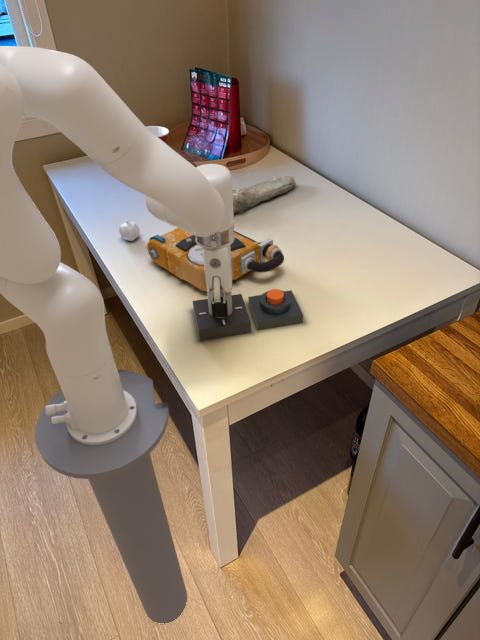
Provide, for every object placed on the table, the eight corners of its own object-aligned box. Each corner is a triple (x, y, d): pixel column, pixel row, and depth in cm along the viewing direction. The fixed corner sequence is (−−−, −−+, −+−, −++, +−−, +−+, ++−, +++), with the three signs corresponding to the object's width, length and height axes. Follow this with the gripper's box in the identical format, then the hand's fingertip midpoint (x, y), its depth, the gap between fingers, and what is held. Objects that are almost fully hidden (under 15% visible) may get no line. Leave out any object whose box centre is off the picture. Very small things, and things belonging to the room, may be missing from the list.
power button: (269, 306, 103) (269, 300, 102) (265, 296, 106) (265, 290, 105) (285, 304, 104) (285, 297, 102) (281, 294, 106) (281, 288, 105)
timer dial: (232, 317, 102) (231, 297, 98) (208, 318, 102) (206, 298, 98) (232, 303, 105) (231, 283, 102) (209, 304, 105) (207, 284, 102)
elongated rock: (303, 193, 155) (282, 185, 161) (304, 177, 152) (282, 169, 158) (214, 224, 137) (195, 213, 144) (213, 206, 134) (193, 196, 141)
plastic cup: (174, 167, 171) (169, 133, 163) (143, 171, 170) (137, 136, 162) (171, 156, 179) (167, 123, 171) (142, 159, 178) (136, 126, 170)
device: (208, 203, 131) (292, 241, 114) (211, 230, 136) (291, 270, 119) (140, 234, 119) (222, 282, 102) (145, 262, 125) (224, 312, 108)
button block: (257, 329, 103) (257, 315, 100) (248, 304, 110) (248, 290, 107) (302, 322, 104) (303, 308, 102) (291, 297, 111) (291, 283, 108)
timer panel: (199, 340, 101) (198, 329, 99) (193, 311, 109) (192, 300, 107) (251, 332, 102) (250, 321, 100) (241, 304, 110) (241, 292, 108)
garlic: (122, 233, 137) (118, 216, 133) (141, 231, 137) (138, 215, 134) (120, 244, 132) (116, 227, 129) (140, 242, 132) (136, 225, 129)
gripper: (234, 256, 85) (238, 333, 96) (234, 210, 98) (238, 283, 109) (191, 257, 85) (200, 334, 96) (197, 211, 98) (204, 284, 110)
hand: (220, 306), depth 103 cm, fingers closed on timer dial, 5 cm apart
